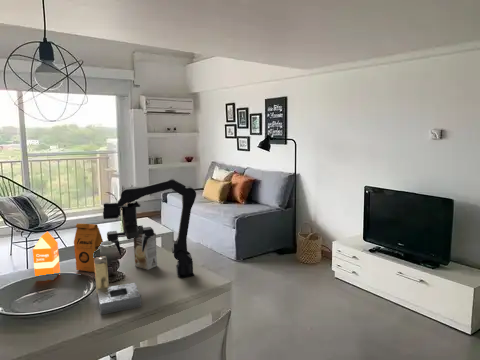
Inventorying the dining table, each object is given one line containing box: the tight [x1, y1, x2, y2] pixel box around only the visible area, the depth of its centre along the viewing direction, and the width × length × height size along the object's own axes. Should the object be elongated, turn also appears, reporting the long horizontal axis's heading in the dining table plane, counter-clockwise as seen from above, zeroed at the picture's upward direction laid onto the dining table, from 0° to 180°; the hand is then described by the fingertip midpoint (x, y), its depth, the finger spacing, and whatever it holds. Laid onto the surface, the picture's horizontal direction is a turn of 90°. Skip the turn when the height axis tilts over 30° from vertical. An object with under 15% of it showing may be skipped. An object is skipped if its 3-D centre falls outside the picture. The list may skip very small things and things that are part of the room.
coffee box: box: [133, 232, 158, 271], centre depth 180 cm, size 9×6×16 cm
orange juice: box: [32, 231, 61, 277], centre depth 168 cm, size 8×9×20 cm
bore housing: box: [97, 282, 142, 315], centre depth 143 cm, size 14×14×4 cm
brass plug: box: [94, 255, 110, 295], centre depth 152 cm, size 5×5×14 cm
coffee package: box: [73, 223, 104, 273], centre depth 176 cm, size 10×12×22 cm
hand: (131, 253), depth 163 cm, fingers open, 9 cm apart
